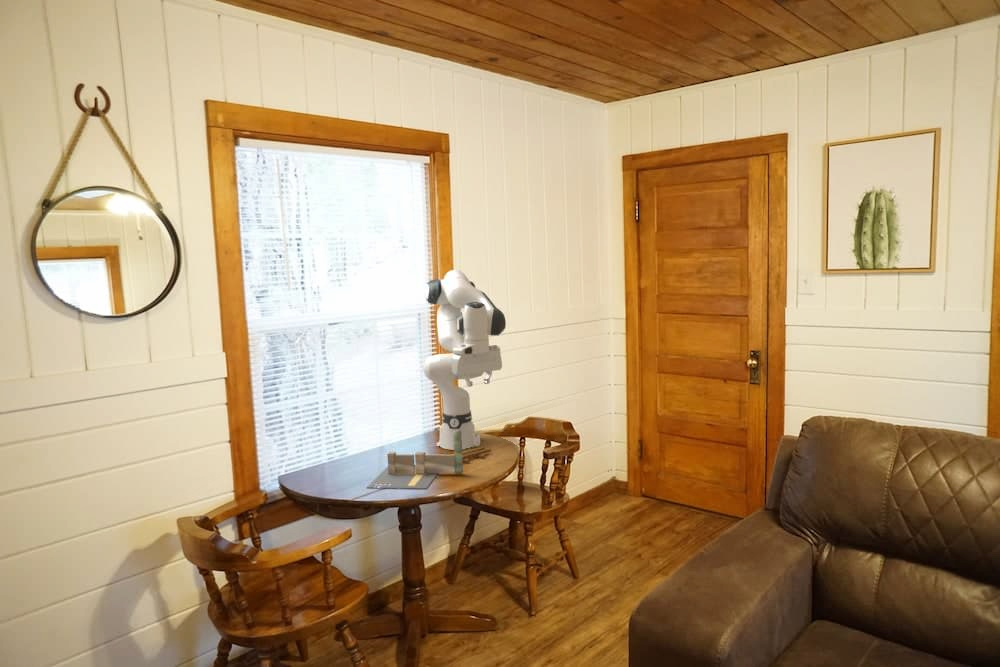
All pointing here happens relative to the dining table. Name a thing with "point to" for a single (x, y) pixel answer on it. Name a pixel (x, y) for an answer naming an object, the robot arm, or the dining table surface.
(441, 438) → the robot arm
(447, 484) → the dining table surface
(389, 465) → the fixed fence section
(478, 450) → the decorative fence
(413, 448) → the dining table surface
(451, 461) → the swinging fence section
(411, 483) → the board
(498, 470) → the dining table surface
